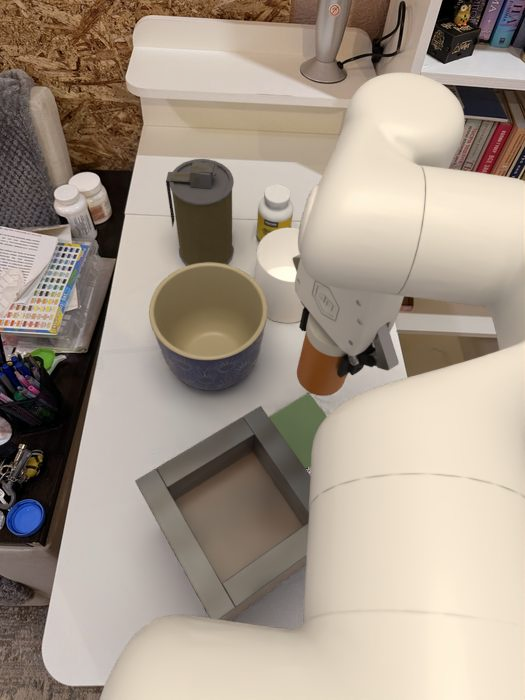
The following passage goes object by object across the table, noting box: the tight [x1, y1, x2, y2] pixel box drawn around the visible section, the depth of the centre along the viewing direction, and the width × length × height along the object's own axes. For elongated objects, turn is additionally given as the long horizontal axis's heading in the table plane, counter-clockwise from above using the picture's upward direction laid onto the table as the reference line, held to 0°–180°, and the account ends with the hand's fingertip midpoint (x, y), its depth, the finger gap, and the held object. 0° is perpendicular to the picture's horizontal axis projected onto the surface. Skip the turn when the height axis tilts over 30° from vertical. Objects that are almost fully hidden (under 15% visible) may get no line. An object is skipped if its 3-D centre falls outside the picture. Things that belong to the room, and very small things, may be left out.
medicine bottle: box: [296, 313, 348, 397], centre depth 58 cm, size 6×6×12 cm
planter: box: [148, 262, 268, 391], centre depth 80 cm, size 17×17×15 cm
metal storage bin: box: [134, 405, 311, 621], centre depth 63 cm, size 16×16×22 cm
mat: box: [268, 392, 328, 470], centre depth 80 cm, size 10×10×1 cm
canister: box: [165, 158, 235, 267], centre depth 89 cm, size 11×10×20 cm
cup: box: [254, 227, 304, 324], centre depth 88 cm, size 12×12×12 cm
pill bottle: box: [256, 183, 294, 243], centre depth 96 cm, size 6×6×12 cm
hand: (330, 345), depth 57 cm, fingers closed on medicine bottle, 6 cm apart
